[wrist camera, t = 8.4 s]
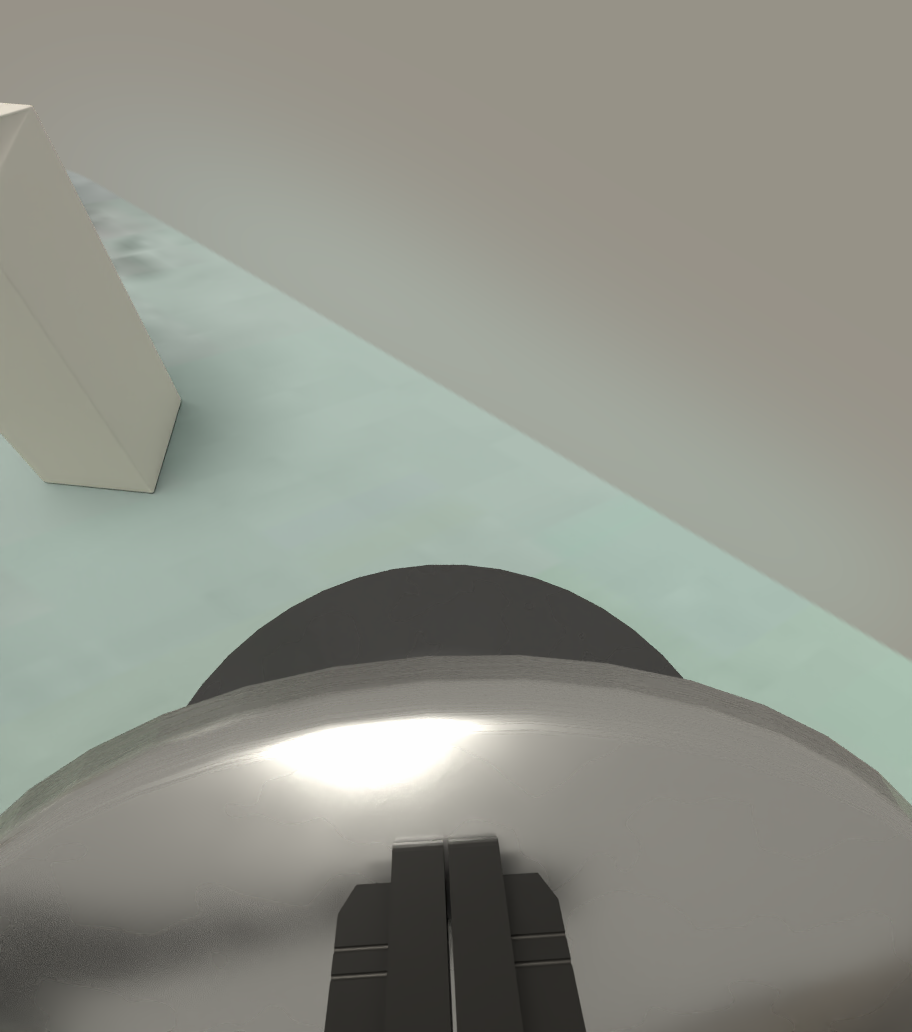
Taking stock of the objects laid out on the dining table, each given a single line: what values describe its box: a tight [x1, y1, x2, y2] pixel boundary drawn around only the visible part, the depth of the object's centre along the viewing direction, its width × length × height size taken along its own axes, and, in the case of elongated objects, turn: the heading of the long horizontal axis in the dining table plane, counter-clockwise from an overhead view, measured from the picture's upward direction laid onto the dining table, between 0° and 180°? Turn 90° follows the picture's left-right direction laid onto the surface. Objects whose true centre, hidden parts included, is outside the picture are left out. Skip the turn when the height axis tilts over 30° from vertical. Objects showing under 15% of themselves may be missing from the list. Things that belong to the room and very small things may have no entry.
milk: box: [0, 103, 181, 493], centre depth 37 cm, size 6×6×22 cm
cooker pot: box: [187, 565, 683, 706], centre depth 32 cm, size 21×28×11 cm
